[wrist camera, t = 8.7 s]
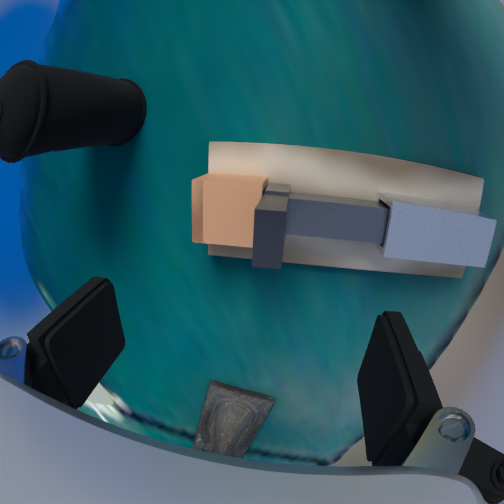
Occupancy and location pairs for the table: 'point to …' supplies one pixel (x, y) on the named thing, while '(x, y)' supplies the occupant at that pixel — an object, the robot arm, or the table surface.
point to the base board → (344, 185)
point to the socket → (225, 208)
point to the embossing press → (230, 419)
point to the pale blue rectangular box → (435, 231)
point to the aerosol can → (64, 110)
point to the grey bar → (311, 221)
